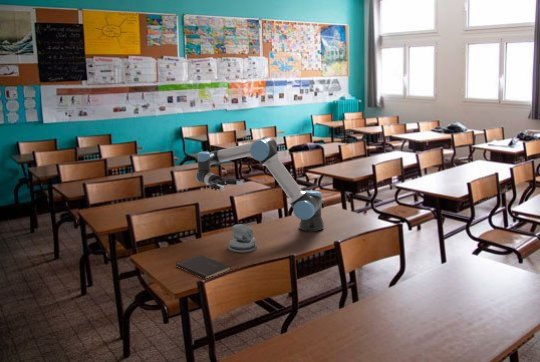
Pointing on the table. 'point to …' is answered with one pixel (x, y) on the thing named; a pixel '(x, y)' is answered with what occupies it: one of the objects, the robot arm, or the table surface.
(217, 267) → the hardcover book
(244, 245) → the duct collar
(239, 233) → the grey rounded block
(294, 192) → the robot arm
